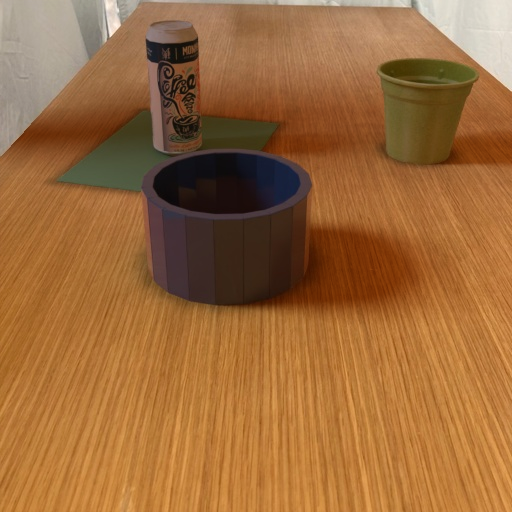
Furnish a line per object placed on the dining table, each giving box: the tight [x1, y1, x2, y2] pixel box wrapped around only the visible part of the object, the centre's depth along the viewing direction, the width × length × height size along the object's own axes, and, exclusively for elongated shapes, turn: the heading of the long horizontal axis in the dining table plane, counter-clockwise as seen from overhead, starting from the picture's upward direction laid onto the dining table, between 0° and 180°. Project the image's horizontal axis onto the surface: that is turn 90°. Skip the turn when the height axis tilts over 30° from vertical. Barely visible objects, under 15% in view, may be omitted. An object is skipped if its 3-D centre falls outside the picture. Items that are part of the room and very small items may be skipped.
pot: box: [140, 149, 313, 306], centre depth 49 cm, size 12×12×7 cm
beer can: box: [144, 19, 202, 156], centre depth 66 cm, size 5×5×12 cm
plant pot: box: [376, 57, 480, 165], centre depth 67 cm, size 9×9×9 cm
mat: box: [55, 109, 280, 193], centre depth 69 cm, size 16×20×1 cm
